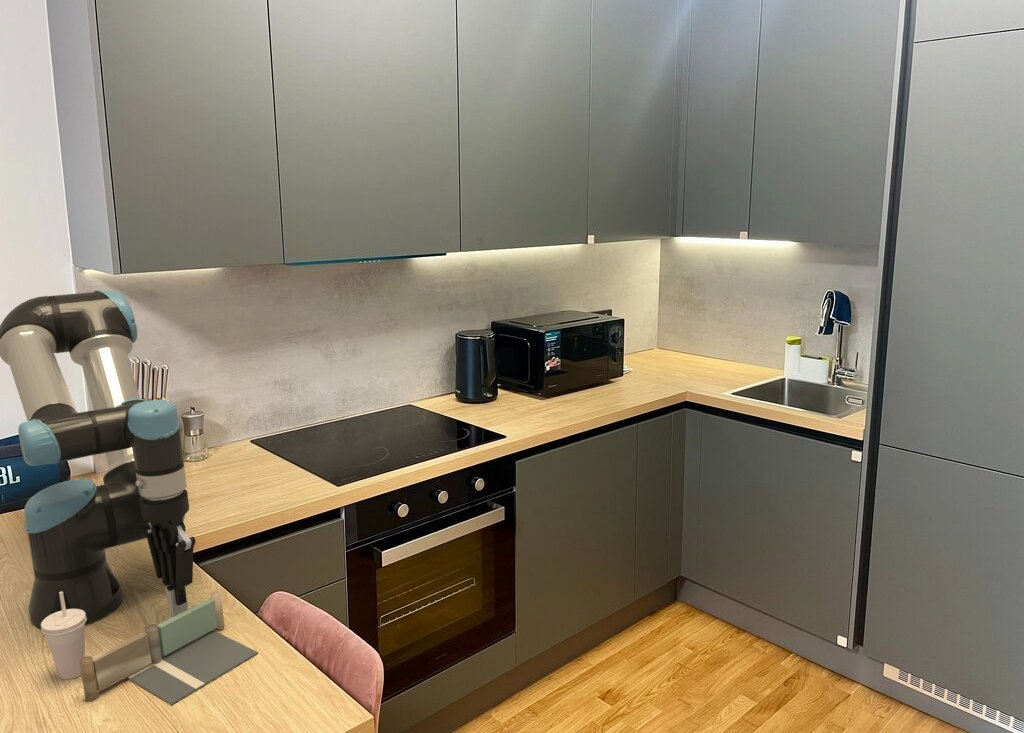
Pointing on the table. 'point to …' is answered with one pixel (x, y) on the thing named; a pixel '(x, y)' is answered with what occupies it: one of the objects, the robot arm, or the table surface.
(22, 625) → the table surface
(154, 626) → the base
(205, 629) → the gate panel
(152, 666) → the card
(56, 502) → the robot arm
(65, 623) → the smoothie
